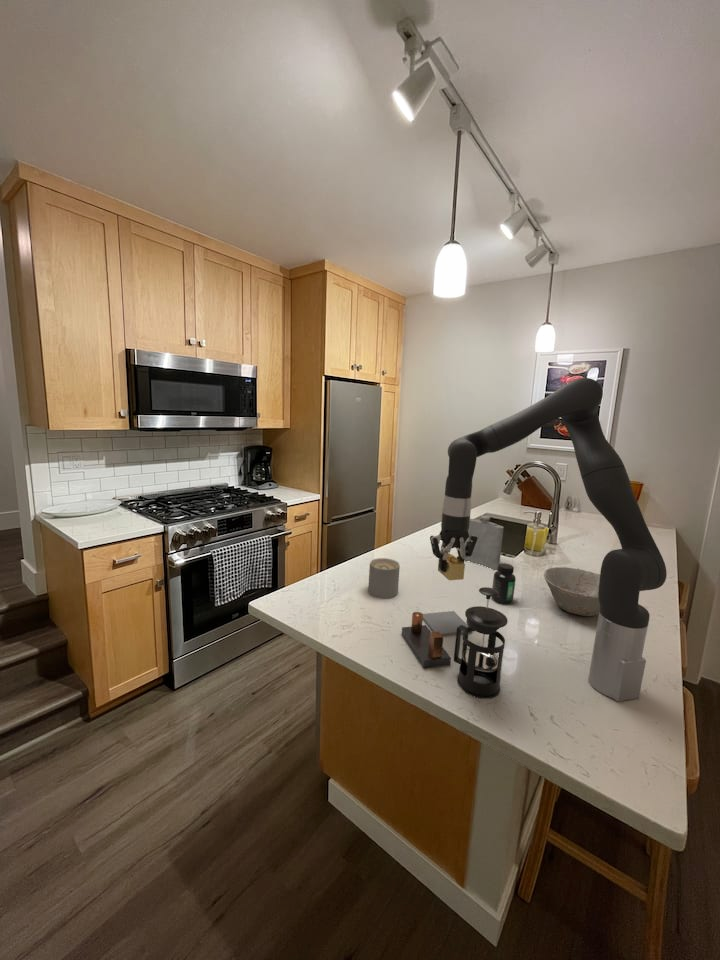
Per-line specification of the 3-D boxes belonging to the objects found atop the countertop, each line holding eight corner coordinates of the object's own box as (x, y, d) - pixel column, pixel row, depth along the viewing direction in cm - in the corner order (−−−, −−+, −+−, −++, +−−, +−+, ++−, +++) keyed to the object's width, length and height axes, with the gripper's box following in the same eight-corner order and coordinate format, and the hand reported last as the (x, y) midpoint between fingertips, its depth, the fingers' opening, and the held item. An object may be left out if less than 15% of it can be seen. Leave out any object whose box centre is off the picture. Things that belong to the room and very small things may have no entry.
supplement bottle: (514, 606, 131) (518, 571, 129) (492, 603, 132) (496, 568, 130) (511, 596, 138) (515, 563, 135) (490, 594, 139) (493, 560, 137)
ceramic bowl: (604, 599, 139) (609, 572, 137) (629, 635, 117) (634, 602, 115) (535, 589, 145) (538, 562, 143) (545, 620, 123) (550, 589, 121)
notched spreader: (460, 559, 170) (464, 513, 166) (465, 557, 173) (469, 511, 169) (496, 571, 159) (502, 522, 156) (501, 568, 162) (506, 520, 158)
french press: (510, 687, 92) (522, 592, 88) (489, 707, 86) (502, 606, 81) (464, 662, 100) (474, 575, 96) (442, 679, 94) (451, 585, 90)
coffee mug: (383, 601, 130) (385, 572, 128) (362, 590, 137) (363, 562, 135) (410, 590, 139) (412, 562, 137) (389, 580, 146) (390, 553, 144)
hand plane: (450, 664, 99) (452, 636, 98) (423, 668, 97) (426, 639, 96) (425, 631, 113) (427, 606, 112) (401, 634, 112) (403, 608, 110)
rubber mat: (472, 633, 114) (472, 630, 114) (436, 636, 111) (436, 634, 111) (453, 613, 124) (454, 611, 124) (420, 616, 121) (420, 614, 121)
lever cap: (463, 579, 112) (465, 560, 111) (448, 580, 111) (450, 561, 110) (451, 569, 119) (453, 551, 118) (437, 570, 118) (439, 551, 117)
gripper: (438, 516, 106) (433, 577, 109) (486, 515, 110) (480, 574, 113) (426, 509, 113) (422, 567, 116) (472, 508, 117) (466, 564, 120)
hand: (450, 570), depth 115 cm, fingers closed on lever cap, 4 cm apart
